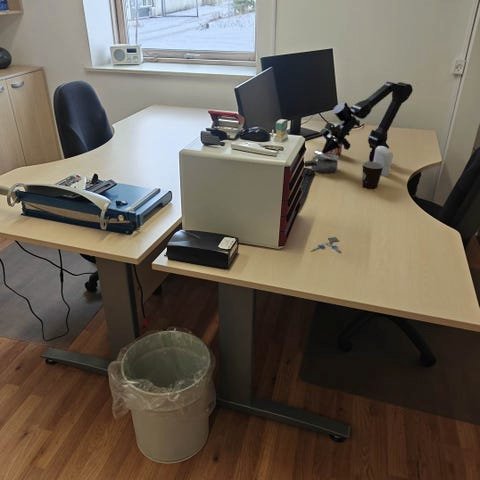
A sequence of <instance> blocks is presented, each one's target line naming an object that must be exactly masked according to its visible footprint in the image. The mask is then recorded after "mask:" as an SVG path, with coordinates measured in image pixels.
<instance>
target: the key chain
mask: <svg viewBox="0 0 480 480" xmlns="http://www.w3.org/2000/svg"><path fill="white" fill-rule="evenodd" d="M327 238H328V239H327V240H328V241H329V242H324V243H322V244H318V245H317V247H315V248H314V249H311V250H310V252H314V251H315V250H318V249H325V247H332V248H331V249H334V250H335V251H336V252H338V253H341V252H342V250H340V248H339V247H338V246H337V245H334V244H333V243H339V242H340V240H339V239H338V238H337V236H333V237H327ZM328 243H329V244H328ZM324 244H326V246H325V245H324ZM332 245H333V246H332Z"/></svg>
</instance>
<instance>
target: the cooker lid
mask: <svg viewBox="0 0 480 480" xmlns="http://www.w3.org/2000/svg"><path fill="white" fill-rule="evenodd" d="M322 150H323V149H322ZM322 150H321V149H314V150H313V154H314V155H315V156H319V157H322V158H325V159H329V160H338V161H339V159H340V157H339V156H337V155H335V154H333V153H330V152H326V153H322Z"/></svg>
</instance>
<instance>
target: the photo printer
mask: <svg viewBox="0 0 480 480" xmlns="http://www.w3.org/2000/svg"><path fill="white" fill-rule="evenodd" d="M393 158H394V154H393V152H392V151H391V149H390V148H389V149H388V148H387V147H384V146H378V147H377V148H376V150H375V155H374V160H373V162H377V163H380V164H382V165H383V170H382V173H381V176H383V177H387V176H389V175H390V172H391V168H392V163H393Z"/></svg>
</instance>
